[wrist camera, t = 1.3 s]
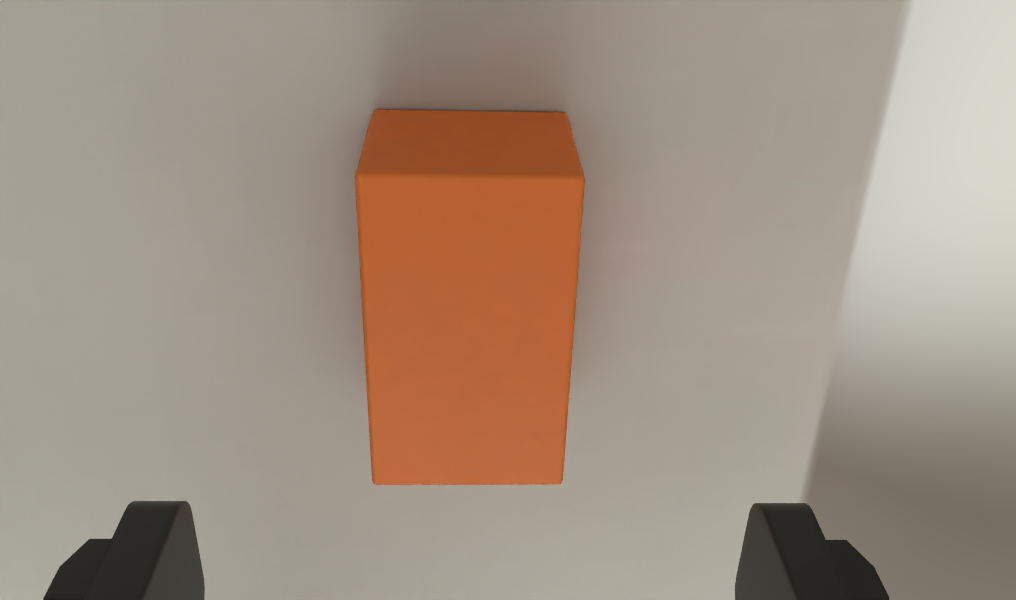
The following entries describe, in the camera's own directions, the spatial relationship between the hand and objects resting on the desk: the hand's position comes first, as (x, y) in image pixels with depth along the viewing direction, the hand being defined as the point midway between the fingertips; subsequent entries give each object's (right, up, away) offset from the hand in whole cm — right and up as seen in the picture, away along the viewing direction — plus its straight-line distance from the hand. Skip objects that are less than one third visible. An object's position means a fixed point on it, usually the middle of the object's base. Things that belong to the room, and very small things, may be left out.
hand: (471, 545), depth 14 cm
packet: (0, +4, +7) cm, 9 cm away
